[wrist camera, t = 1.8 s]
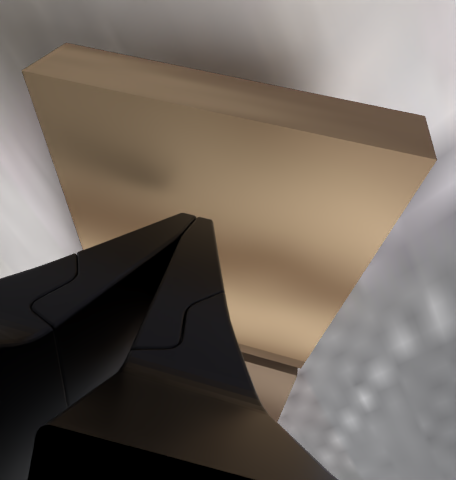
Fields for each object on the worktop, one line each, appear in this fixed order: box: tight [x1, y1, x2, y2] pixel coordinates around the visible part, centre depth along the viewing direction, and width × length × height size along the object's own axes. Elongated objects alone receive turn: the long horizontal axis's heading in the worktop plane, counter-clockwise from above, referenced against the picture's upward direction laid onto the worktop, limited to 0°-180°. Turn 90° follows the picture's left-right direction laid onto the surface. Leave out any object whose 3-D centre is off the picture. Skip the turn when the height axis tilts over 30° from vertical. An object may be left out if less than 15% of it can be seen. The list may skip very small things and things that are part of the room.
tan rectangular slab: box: [22, 43, 437, 368], centre depth 13 cm, size 12×10×2 cm
